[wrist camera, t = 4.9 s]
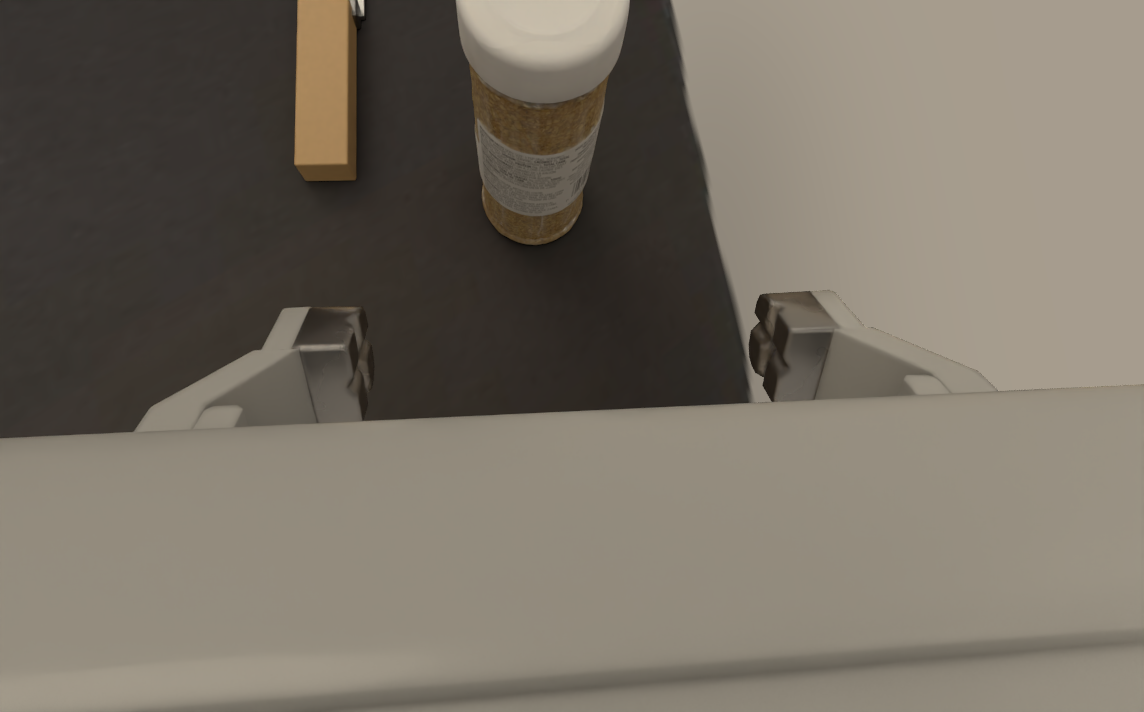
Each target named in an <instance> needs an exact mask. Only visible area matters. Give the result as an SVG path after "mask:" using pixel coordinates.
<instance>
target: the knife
mask: <svg viewBox="0 0 1144 712" xmlns="http://www.w3.org/2000/svg"><path fill="white" fill-rule="evenodd" d="M361 20H366V0H298V1H297V60H296V110H295V159H294V164H295V166H296V168H297V169H298V170H299V172H300V173H301V175H302V176H303V178H304V179H305V180H306V181H343V180H356V51H357V29H361Z"/></svg>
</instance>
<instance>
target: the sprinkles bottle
mask: <svg viewBox="0 0 1144 712" xmlns="http://www.w3.org/2000/svg"><path fill="white" fill-rule="evenodd" d="M629 3H630V0H456V7H457V17H458V25H459V33H460V39H461V43H462V47H463V51H464V53H465V55H466V57H467V59H468V61H469V63H470V71H471V80H472V97H473V104H474V113H475V136H476V144H477V152H478V160H479V168H480V174H481V178H482V180H483V188H482V200H483V206H484V210H485V212H486V215H487V217H488V219H489V220H490V222H491V223H492V225H493V226H494V227H495V228H496V229H497V231H498V232H499V233H501V234H502V235H504V236H506V237H508V238H509V239H511V240H513V241H516V242H519V243H522V244H531V245H539V244H545V243H548V242H551V241H553V240H556V239H558V238H560V237H561V236H563V235H564V234H566V233H567V232H568V231H569V230H570V229H571V228H572V226H573V224H574V223H575V222H576V220H577V218H578V216H579V214H580V212H581V208H582V200H583V191H582V190H583V188H584V186H585V184H586V181H587V178H588V174H589V169H590V165H591V160H592V156H593V152H594V148H595V143H596V139H597V134H598V130H599V126H600V121H601V117H602V113H603V107H604V96H605V91H606V85H607V80H608V76H609V73H610V72H611V71H612V69H613V67H614V65H615V64H616V62H617V59H618V57H619V54H620V51H621V47H622V43H623V38H624V33H625V29H626V24H627V18H628V12H629Z"/></svg>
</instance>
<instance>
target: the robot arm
mask: <svg viewBox="0 0 1144 712" xmlns="http://www.w3.org/2000/svg"><path fill="white" fill-rule="evenodd" d="M755 314H756V316H757V317H758V319H759V321H760V322H759V323H758V324H757V325H756V326H755V327H754V328H753V329H752V330H751V334H750V340H749V357H750V361H751V364H752V367H753V369H754V371H755V373H757V374H759V375H760V376H762V377H764V382H763V387H764V389H765V390H766V392H767V394H768V396H769V398H770V399H771V401H772V402H762V403H741V404H720V405H699V406H678V407H657V408H635V409H614V410H592V411H571V412H549V413H528V414H506V415H485V416H463V417H442V418H420V419H399V420H377V421H364V418H365V414H366V410H367V406H368V399H367V394H366V393H367V392H369V391H370V390H371V389H372V385H373V381H374V357H373V350H372V345H371V344H370V343H369V342H368V341H367V340H366V339H365V336H366V332H367V329H368V322H367V317H366V313H365V310H364V308H363V307H312V308H311V307H297V308H285V309H283V310H282V311H281V313H280V315H279V317H278V319H277V321H276V323H275V325H274V327H273V328H272V330H271V332H270V334H269V336H268V338H267V340H266V342H265V344H264V346H263V348H262V350H255V351H252V352H250V353H248V354H246V355H244V356H243V357H241V358H239V359H237V360H235V361H234V362H232V363H230V364H228V365H226V366H224V367H223V368H221V369H219V370H217V371H215V372H214V373H212V374H210V375H208V376H206V377H204V378H203V379H201V380H199V381H197V382H195V383H194V384H192V385H190V386H188V387H186V388H184V389H183V390H181V391H179V392H177V393H175V394H174V395H172V396H170V397H168V398H166V399H164V400H163V401H161V402H159V403H157V404H155V405H154V406H152V407H150V409H149V410H148V412H147V413H146V414H145V416H144V417H143V419H142V420H141V422H140V423H139V425H138V426H137V428H136V429H135V431H134V432H125V433H104V434H83V435H61V436H40V437H19V438H0V712H1144V384H1141V385H1123V386H1101V387H1079V388H1057V389H1035V390H1017V391H1015V390H1014V391H998V390H997V389H996V388H995V387H994V386H993V385H992V384H991V383H990V382H989V381H988V380H987V379H986V378H985V377H984V376H983V375H982V374H981V373H979V372H978V371H977V370H974V369H972V368H969V367H967V366H964V365H962V364H960V363H957V362H955V361H953V360H950V359H948V358H945V357H943V356H941V355H938V354H936V353H933V352H931V351H928V350H926V349H924V348H921V347H919V346H916V345H914V344H912V343H909V342H907V341H904V340H902V339H899V338H897V337H895V336H892V335H890V334H888V333H885V332H883V331H880V330H878V329H876V328H873V327H871V328H870V327H868V328H866V327H865V326H864V325H863V324H862V323H861V322H860V320H859V319H858V318H857V317H856V316H855V315H854V314H853V312H852V311H851V310H850V309H849V308H848V307H847V306H846V304H845V303H844V302H843V301H842V300H841V299H840V298H839V297H838V296H837V294H836V293H835V292H833V291H830V290H823V291H805V292H788V293H770V294H762V295H760V296H759V298H758V301H757V304H756V308H755Z"/></svg>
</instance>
